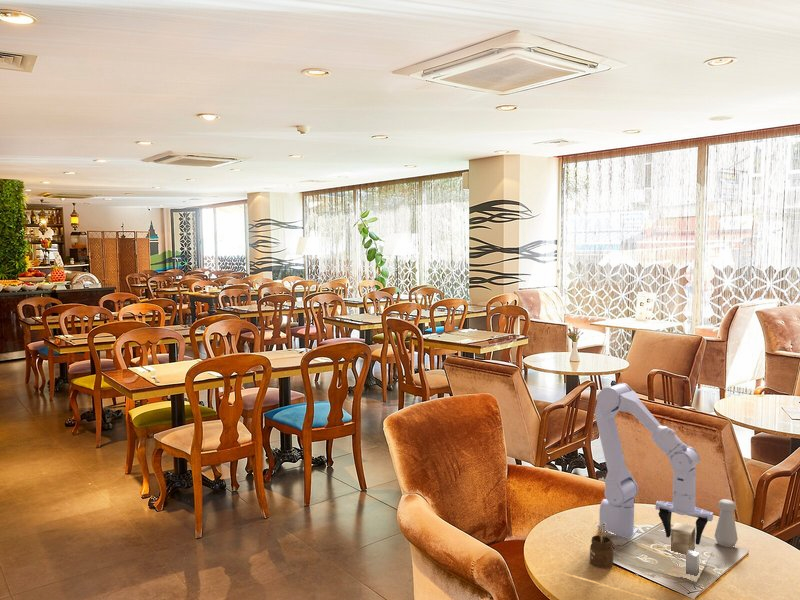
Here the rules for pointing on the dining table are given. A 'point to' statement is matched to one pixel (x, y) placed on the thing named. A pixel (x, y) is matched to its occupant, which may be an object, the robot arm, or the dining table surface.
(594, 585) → the dining table surface
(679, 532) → the wood block
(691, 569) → the steel post
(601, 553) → the utensil holder
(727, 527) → the salt shaker
